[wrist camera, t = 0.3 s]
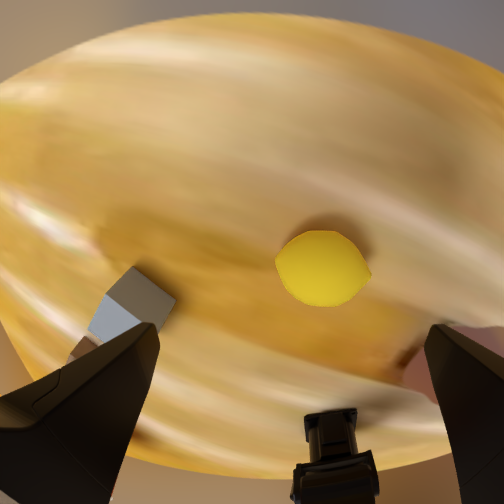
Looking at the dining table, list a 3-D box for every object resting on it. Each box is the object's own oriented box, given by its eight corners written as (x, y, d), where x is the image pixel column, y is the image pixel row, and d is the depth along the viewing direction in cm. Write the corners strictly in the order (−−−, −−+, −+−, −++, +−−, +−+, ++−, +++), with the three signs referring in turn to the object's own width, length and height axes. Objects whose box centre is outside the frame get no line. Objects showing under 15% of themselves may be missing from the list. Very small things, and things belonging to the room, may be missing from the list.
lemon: (274, 276, 24) (262, 311, 19) (284, 213, 22) (275, 234, 17) (356, 292, 23) (364, 330, 18) (373, 230, 21) (389, 257, 16)
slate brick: (176, 300, 25) (158, 333, 20) (152, 330, 27) (133, 364, 22) (132, 265, 24) (105, 293, 19) (112, 300, 26) (87, 329, 21)
